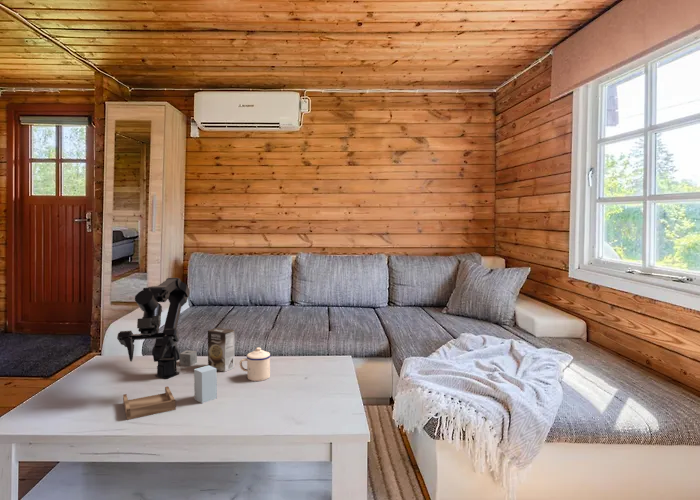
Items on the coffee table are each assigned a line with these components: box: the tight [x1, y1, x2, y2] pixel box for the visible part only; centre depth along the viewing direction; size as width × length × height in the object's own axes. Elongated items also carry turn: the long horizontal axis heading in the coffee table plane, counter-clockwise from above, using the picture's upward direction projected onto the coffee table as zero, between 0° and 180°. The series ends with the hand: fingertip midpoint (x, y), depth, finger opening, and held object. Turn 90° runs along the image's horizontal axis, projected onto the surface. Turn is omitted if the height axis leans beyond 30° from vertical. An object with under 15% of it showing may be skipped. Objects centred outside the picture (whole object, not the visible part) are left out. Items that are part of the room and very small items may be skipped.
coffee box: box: [207, 327, 235, 373], centre depth 178 cm, size 9×6×16 cm
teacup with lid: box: [239, 347, 271, 382], centre depth 168 cm, size 12×9×12 cm
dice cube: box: [179, 349, 198, 367], centre depth 184 cm, size 5×5×5 cm
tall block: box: [193, 364, 218, 404], centre depth 147 cm, size 5×6×10 cm
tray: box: [122, 386, 177, 421], centre depth 141 cm, size 14×14×3 cm
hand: (145, 360), depth 144 cm, fingers open, 9 cm apart
